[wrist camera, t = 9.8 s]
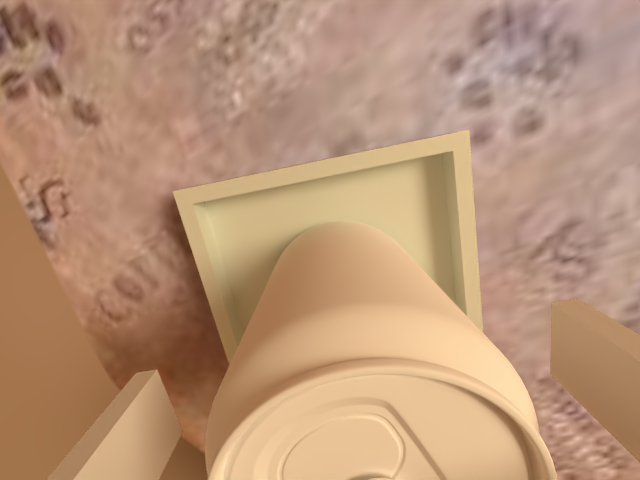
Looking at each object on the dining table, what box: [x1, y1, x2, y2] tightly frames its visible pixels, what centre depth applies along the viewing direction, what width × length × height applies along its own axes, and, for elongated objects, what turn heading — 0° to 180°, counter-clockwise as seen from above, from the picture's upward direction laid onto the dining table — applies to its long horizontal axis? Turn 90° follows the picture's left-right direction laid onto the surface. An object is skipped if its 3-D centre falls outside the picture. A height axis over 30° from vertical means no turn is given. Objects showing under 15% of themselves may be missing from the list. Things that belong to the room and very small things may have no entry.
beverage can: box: [205, 221, 557, 480], centre depth 12 cm, size 8×8×12 cm
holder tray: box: [173, 130, 483, 365], centre depth 17 cm, size 15×15×2 cm
